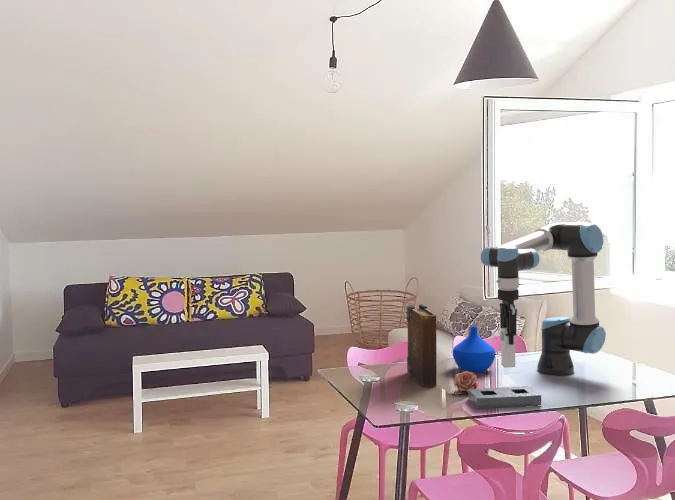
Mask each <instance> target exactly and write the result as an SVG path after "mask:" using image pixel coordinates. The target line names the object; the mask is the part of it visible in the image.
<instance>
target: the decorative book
mask: <svg viewBox="0 0 675 500" xmlns="http://www.w3.org/2000/svg"><path fill="white" fill-rule="evenodd" d="M406 322H407V356H406V358H407V359H406V363H407V365H406V367H407V368H406V369H407V370H406V372H407V373H406V374H408V375H409V376H410V377H411V378H413V379H414V380H415V381H416V382H417V383H418V384H419V385H420V386H422V387H427V388H428V387H436V386H437V314H436V312H433V311H432V310H430V309H428V306H427V305H425V304H423V303H419V304H418V308H416V307H415V306H414V305H412V304H406Z"/></svg>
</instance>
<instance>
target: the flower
mask: <svg viewBox="0 0 675 500" xmlns="http://www.w3.org/2000/svg"><path fill="white" fill-rule="evenodd" d="M477 381H478V376H477V375H476V373H473V372H469V371H462V372H460V373H456V374H455V376H454V382H455V383H454V385H455V386H456V388H457V390H458V391H460V390H461V391H460V392H462V391H464V392H465V391H466V392H467V393H468V389H478V386H479V383H477Z"/></svg>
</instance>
